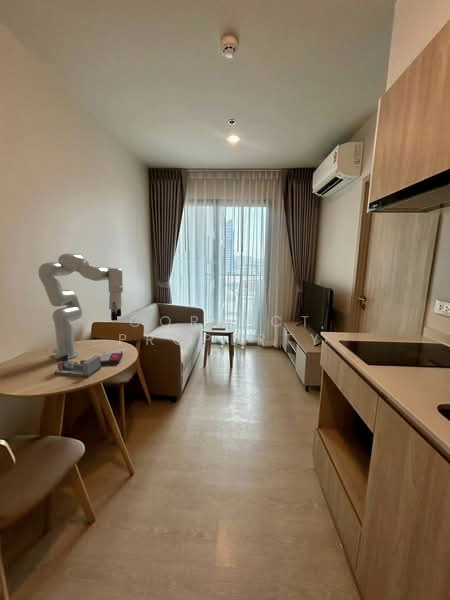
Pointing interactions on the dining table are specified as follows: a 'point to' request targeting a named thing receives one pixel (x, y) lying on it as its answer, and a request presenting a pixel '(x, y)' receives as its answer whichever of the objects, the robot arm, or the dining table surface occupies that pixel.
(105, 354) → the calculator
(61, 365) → the drag pointer
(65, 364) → the plunger
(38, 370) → the dining table surface
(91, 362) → the gauge housing
